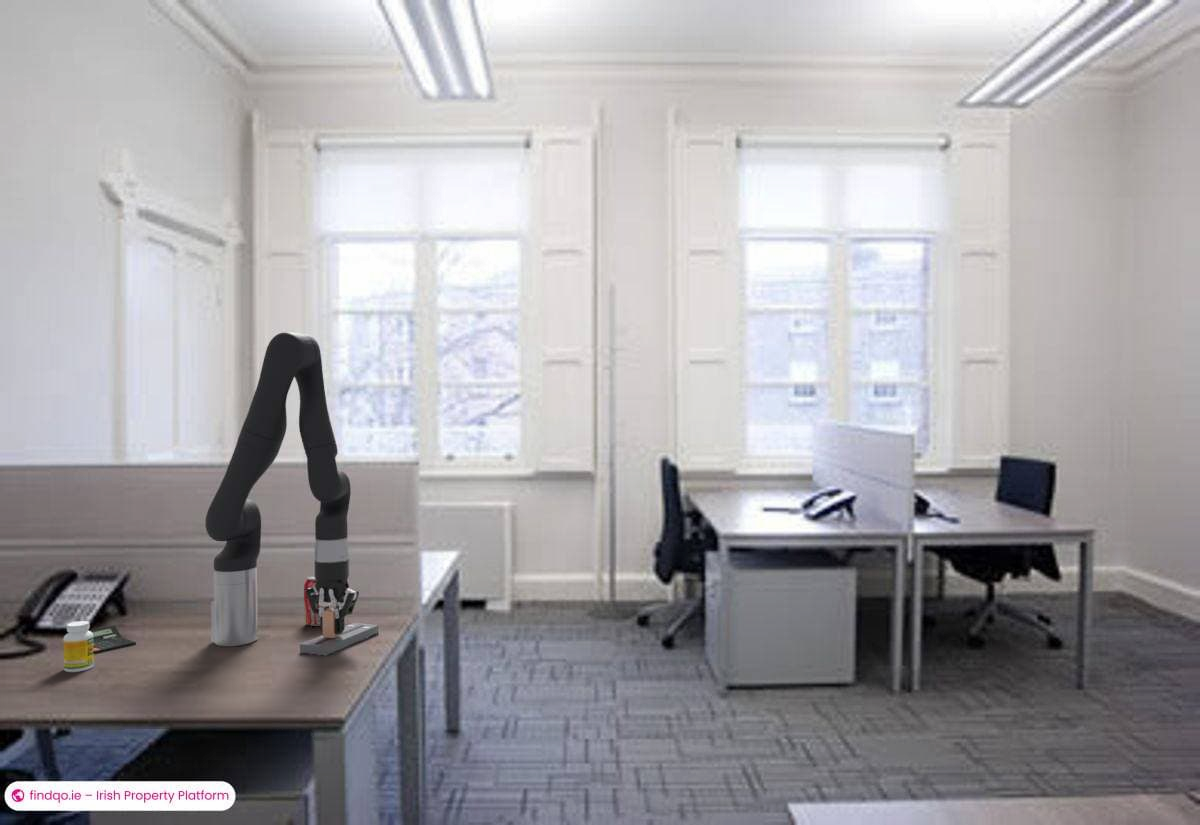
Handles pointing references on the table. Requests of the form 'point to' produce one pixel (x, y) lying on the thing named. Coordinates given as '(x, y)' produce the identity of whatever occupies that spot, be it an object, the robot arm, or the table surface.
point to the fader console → (339, 639)
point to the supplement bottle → (78, 647)
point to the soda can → (309, 616)
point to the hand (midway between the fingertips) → (332, 632)
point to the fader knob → (329, 623)
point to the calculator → (108, 640)
